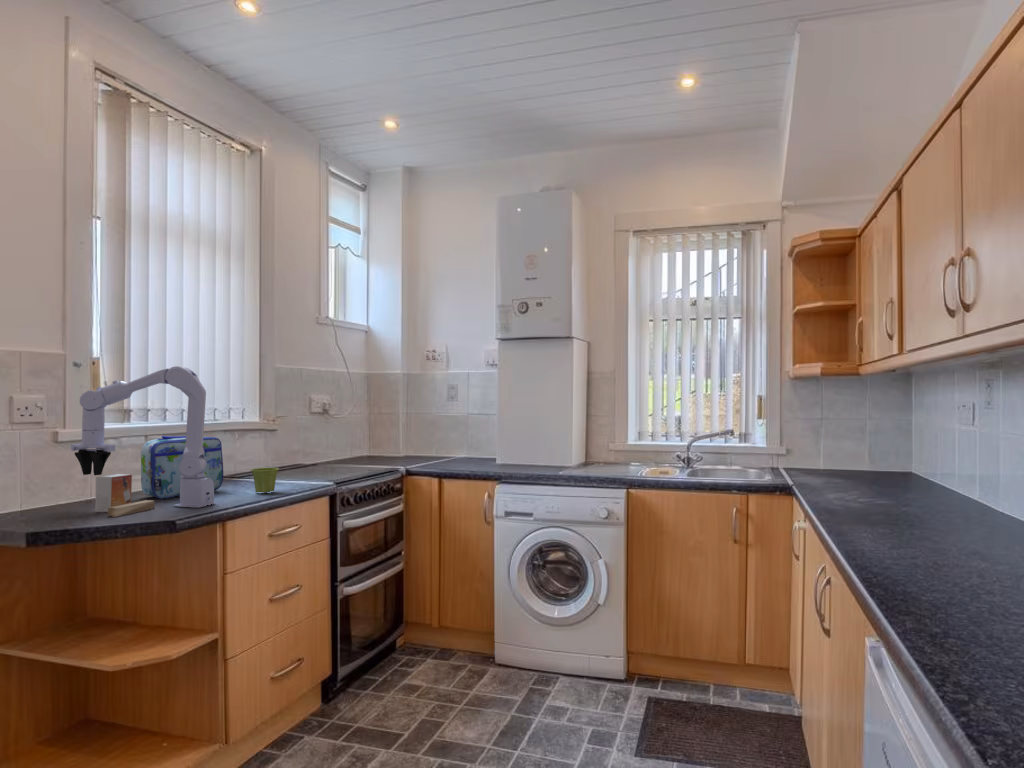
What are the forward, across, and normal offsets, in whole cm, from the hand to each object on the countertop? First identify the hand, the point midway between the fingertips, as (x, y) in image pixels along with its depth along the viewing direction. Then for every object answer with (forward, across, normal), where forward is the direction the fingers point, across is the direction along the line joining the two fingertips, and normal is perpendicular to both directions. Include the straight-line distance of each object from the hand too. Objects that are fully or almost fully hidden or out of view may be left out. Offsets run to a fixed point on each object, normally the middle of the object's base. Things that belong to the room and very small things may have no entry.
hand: (92, 474), depth 194 cm
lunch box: (+11, +6, +31) cm, 33 cm away
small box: (+11, +8, 0) cm, 13 cm away
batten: (+10, +16, -2) cm, 20 cm away
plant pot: (+11, +31, +42) cm, 53 cm away
